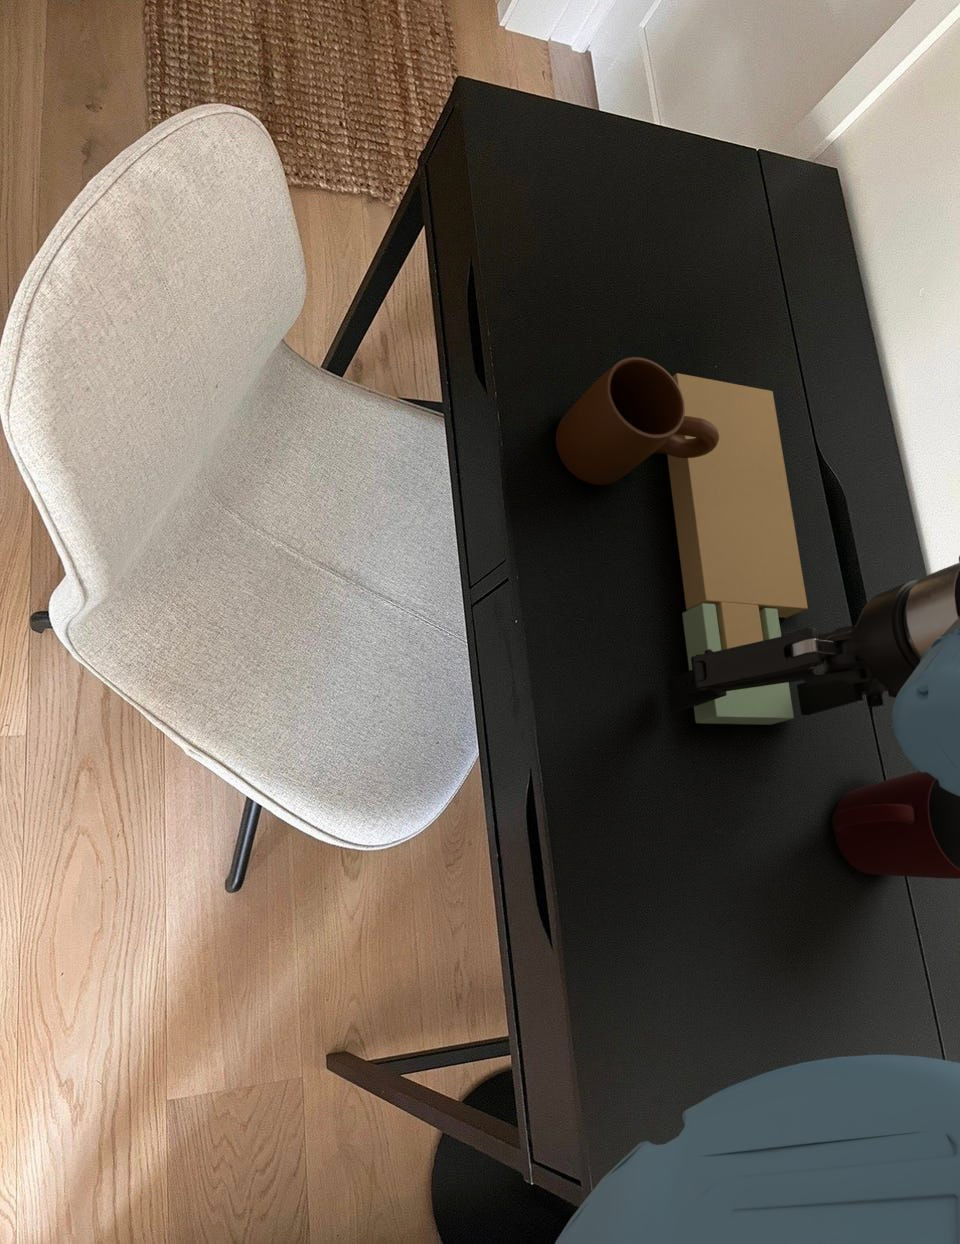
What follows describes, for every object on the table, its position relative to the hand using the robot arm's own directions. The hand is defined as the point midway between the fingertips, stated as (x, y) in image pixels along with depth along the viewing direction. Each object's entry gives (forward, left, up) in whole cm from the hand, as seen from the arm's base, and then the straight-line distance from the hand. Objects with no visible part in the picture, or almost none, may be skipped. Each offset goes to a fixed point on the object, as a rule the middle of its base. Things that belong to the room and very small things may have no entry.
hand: (739, 698), depth 79 cm
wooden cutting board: (+2, +16, -1) cm, 16 cm away
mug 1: (-9, +22, -1) cm, 24 cm away
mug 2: (+11, -11, -1) cm, 16 cm away
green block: (0, +3, -1) cm, 3 cm away
